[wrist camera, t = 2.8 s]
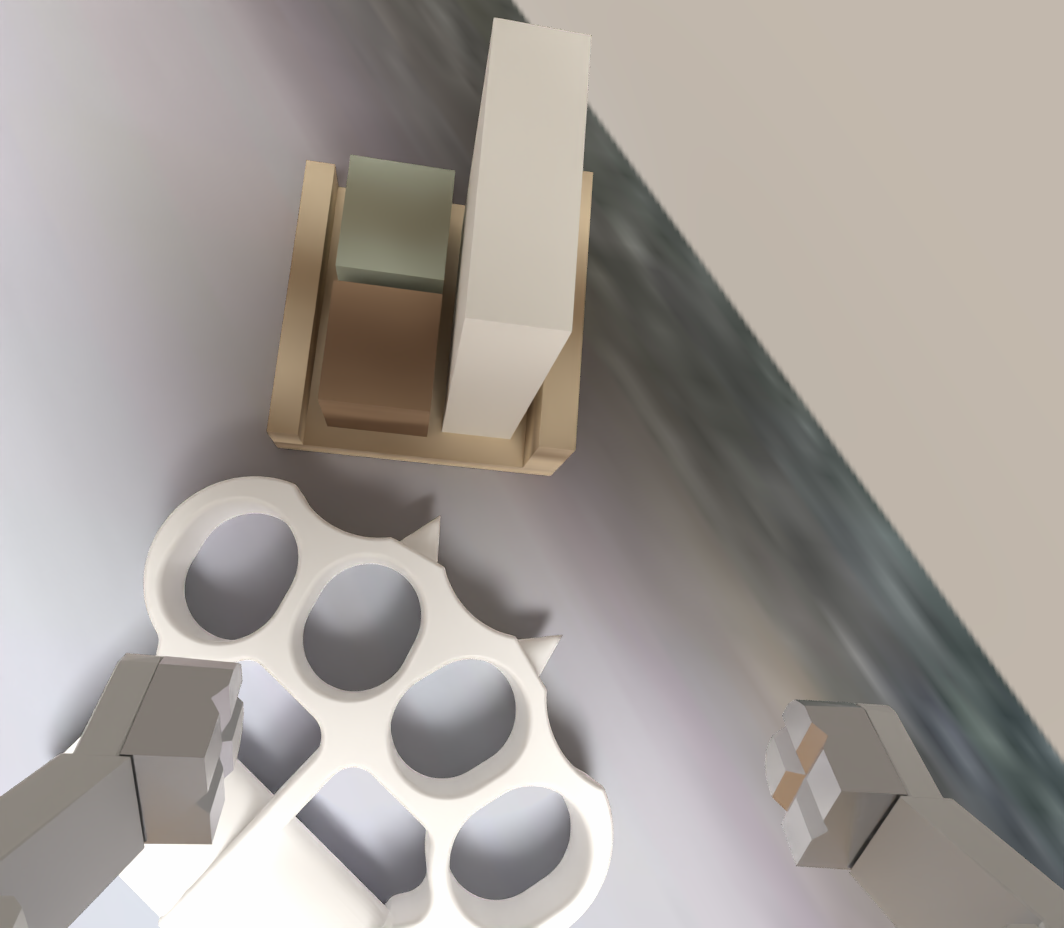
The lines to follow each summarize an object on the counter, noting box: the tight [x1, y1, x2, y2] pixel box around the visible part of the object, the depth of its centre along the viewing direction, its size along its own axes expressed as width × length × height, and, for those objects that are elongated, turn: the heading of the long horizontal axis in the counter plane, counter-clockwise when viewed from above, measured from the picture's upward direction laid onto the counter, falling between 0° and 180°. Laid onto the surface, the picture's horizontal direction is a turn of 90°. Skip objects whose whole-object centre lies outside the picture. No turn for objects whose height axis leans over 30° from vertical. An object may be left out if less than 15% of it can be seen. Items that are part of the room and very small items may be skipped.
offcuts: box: [318, 155, 455, 437], centre depth 28 cm, size 8×4×4 cm, turn 176°
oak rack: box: [267, 160, 593, 476], centre depth 29 cm, size 10×10×4 cm
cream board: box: [442, 17, 592, 439], centre depth 25 cm, size 8×2×11 cm, turn 176°
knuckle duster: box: [64, 476, 613, 928], centre depth 26 cm, size 3×18×15 cm
